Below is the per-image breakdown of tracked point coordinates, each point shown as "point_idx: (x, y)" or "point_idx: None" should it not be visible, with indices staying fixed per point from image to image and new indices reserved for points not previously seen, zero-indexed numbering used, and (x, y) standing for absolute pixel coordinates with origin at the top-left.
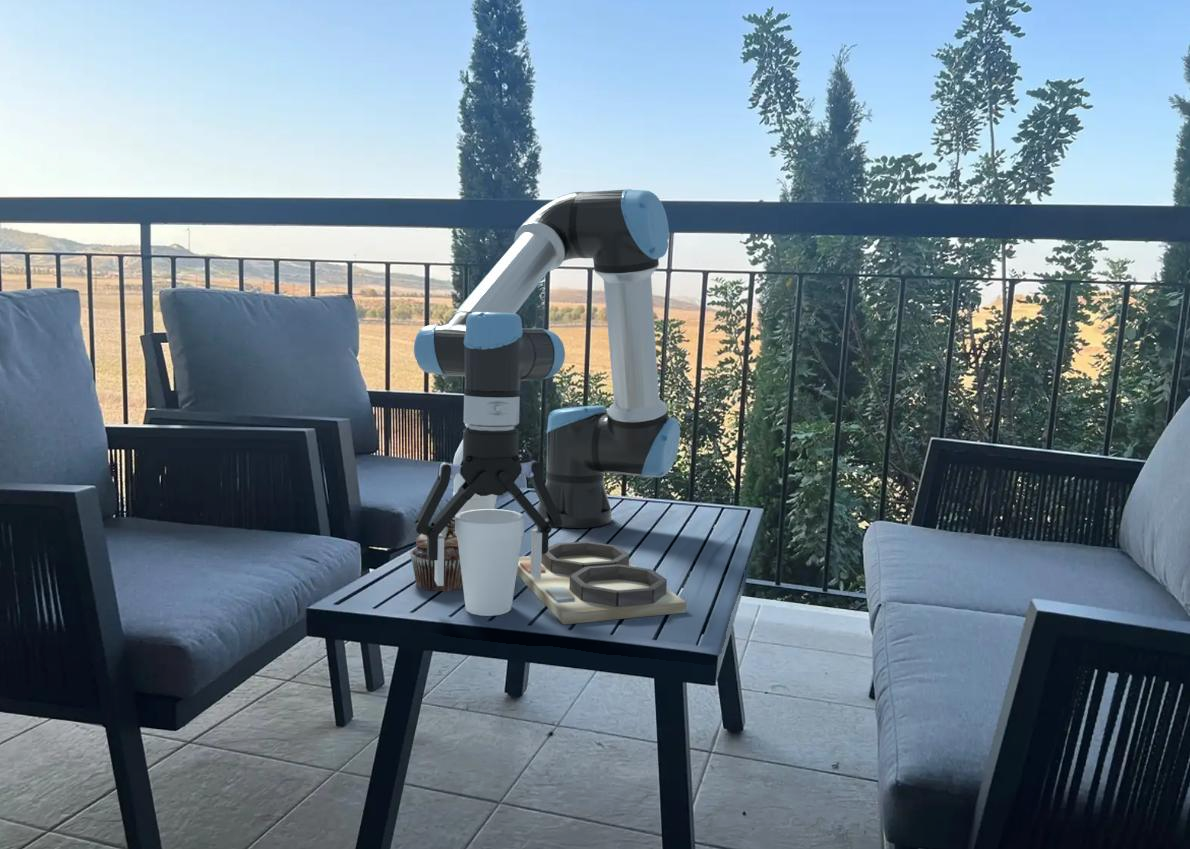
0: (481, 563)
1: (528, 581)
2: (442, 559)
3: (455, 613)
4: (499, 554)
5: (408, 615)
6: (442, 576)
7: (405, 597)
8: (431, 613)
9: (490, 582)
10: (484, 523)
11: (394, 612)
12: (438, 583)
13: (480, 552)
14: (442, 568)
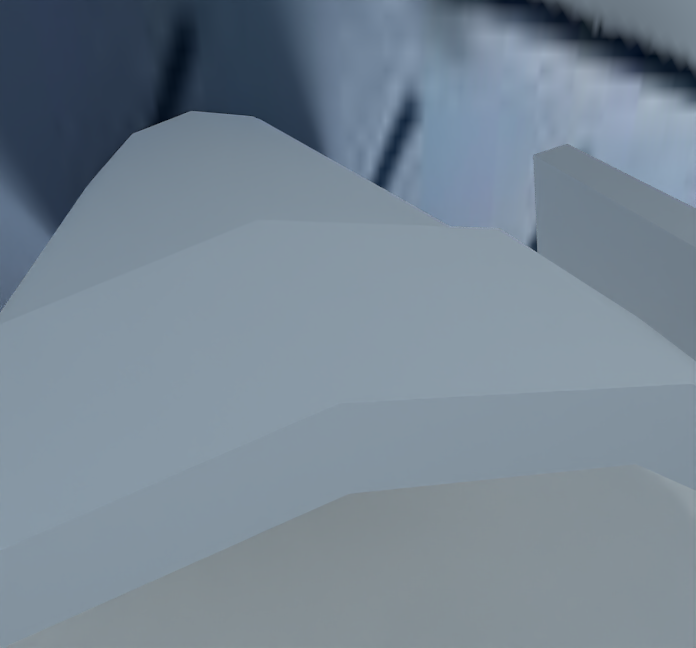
0: (333, 179)
1: None
2: (666, 217)
3: (385, 149)
4: (144, 230)
5: (602, 113)
6: (576, 172)
7: None
8: (499, 145)
9: (215, 141)
10: (536, 446)
11: (651, 154)
12: (574, 148)
13: (383, 206)
14: (614, 193)
